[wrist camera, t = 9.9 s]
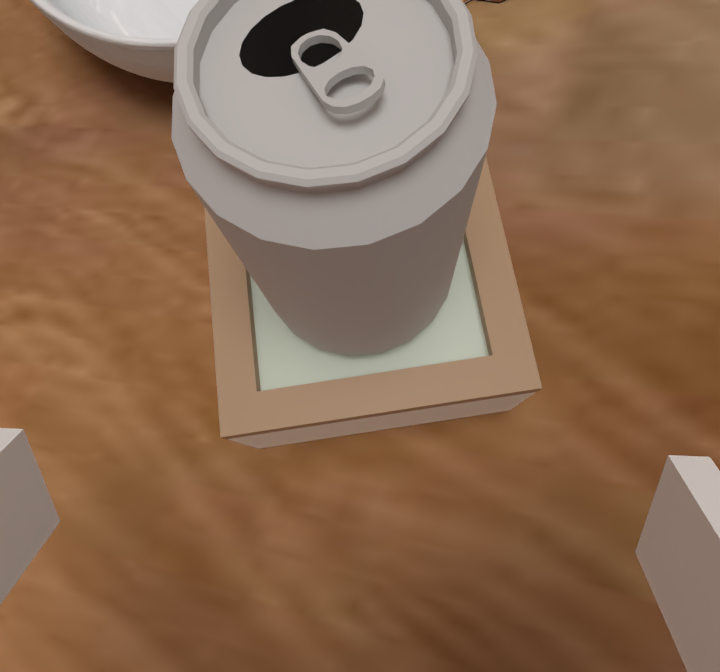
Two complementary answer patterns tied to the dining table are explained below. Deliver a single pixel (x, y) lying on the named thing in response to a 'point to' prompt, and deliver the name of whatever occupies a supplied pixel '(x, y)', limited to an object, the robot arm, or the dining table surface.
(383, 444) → the dining table surface
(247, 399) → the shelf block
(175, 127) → the can
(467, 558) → the dining table surface
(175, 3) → the serving bowl
